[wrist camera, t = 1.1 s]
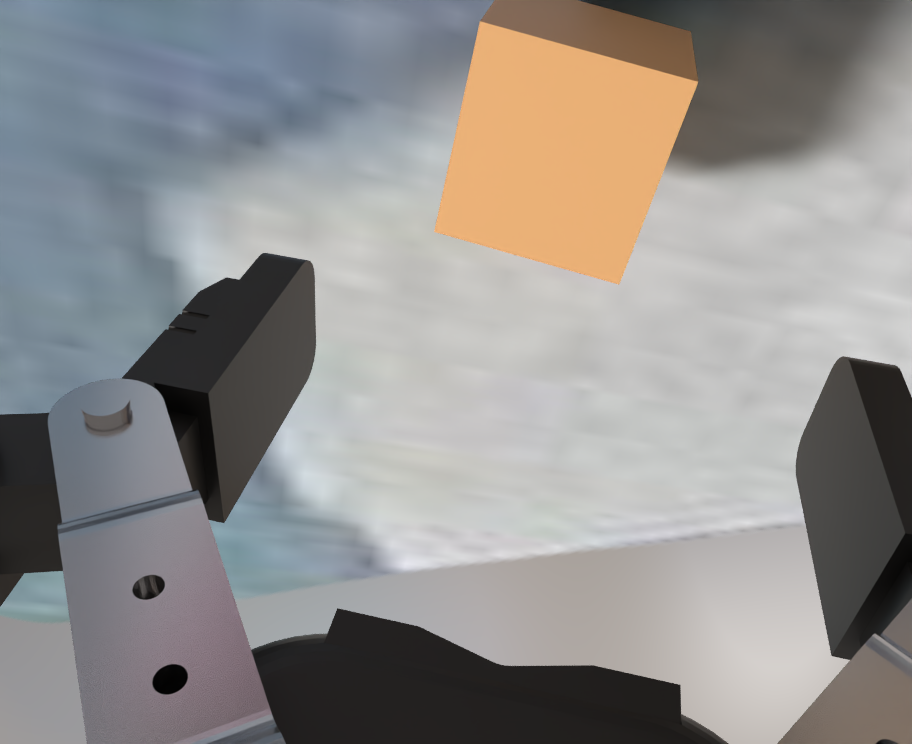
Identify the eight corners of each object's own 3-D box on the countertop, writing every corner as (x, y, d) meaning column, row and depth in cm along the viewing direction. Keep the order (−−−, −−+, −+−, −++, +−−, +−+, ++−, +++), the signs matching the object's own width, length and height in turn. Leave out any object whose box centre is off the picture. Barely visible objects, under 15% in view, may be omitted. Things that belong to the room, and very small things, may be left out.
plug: (518, -35, 26) (480, 21, 20) (688, 11, 26) (698, 82, 20) (477, 140, 30) (434, 231, 24) (625, 182, 30) (619, 284, 24)
